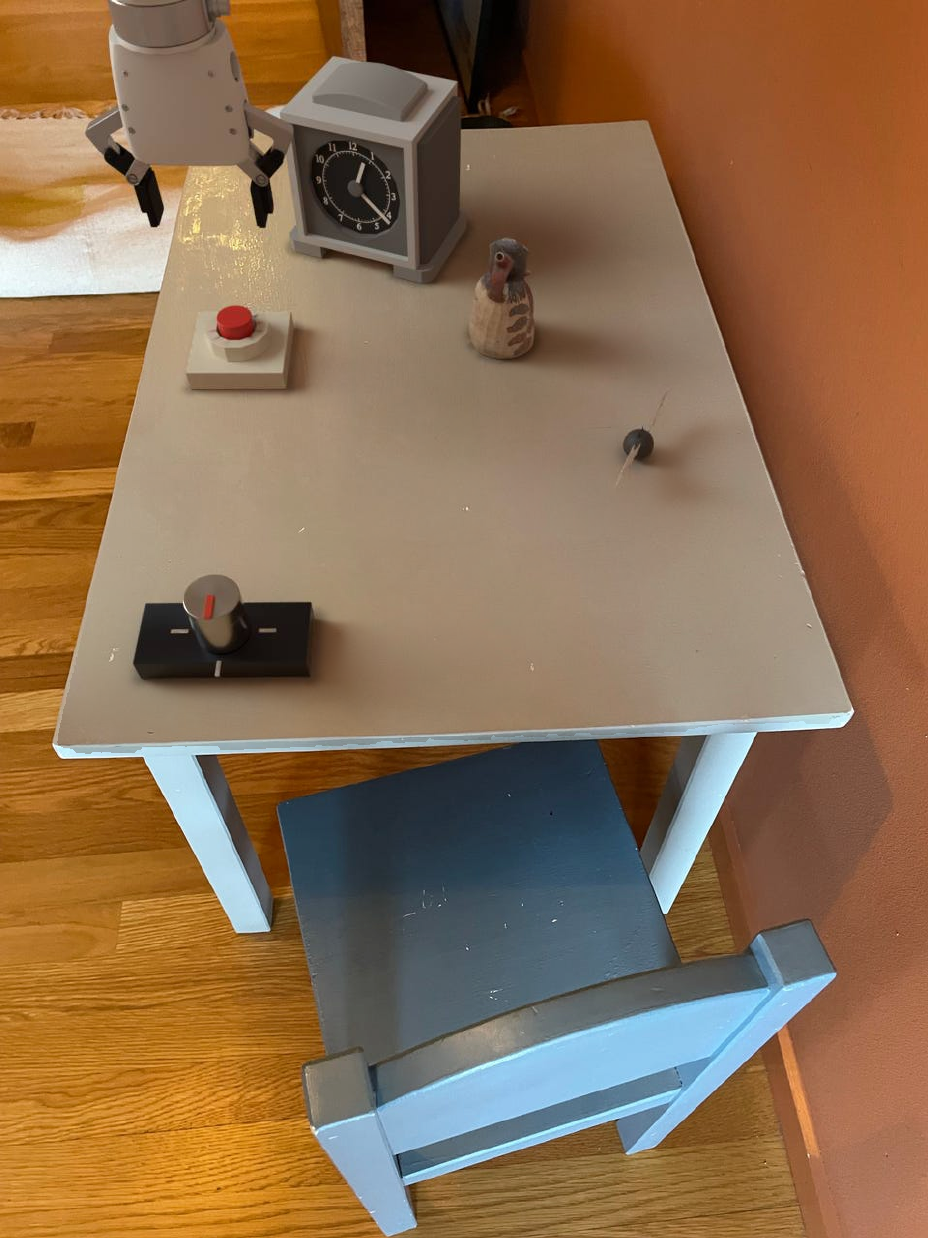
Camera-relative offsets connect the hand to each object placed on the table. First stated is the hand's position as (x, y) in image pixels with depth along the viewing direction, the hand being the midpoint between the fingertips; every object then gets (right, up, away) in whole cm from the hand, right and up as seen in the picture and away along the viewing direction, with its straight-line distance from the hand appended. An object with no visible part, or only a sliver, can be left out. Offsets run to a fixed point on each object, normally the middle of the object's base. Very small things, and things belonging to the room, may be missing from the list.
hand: (210, 218), depth 83 cm
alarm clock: (+13, +10, +27) cm, 32 cm away
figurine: (+27, -6, +17) cm, 33 cm away
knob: (+3, -38, -8) cm, 39 cm away
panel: (+3, -39, -6) cm, 40 cm away
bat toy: (+41, -20, +8) cm, 46 cm away
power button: (0, -6, +12) cm, 13 cm away
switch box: (0, -9, +15) cm, 17 cm away
